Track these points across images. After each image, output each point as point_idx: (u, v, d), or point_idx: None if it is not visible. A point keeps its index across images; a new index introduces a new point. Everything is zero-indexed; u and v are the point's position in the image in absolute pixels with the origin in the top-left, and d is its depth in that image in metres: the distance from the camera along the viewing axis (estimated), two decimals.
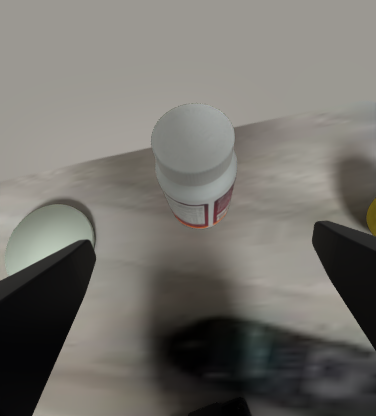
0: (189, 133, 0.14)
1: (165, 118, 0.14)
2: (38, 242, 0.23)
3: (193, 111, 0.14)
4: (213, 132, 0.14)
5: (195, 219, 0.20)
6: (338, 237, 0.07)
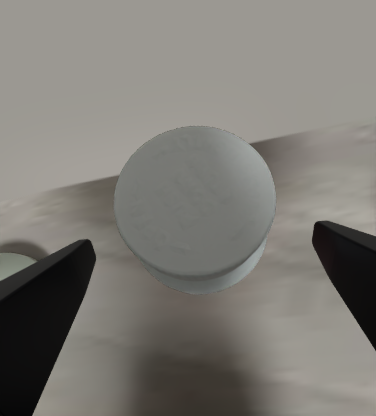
0: (188, 185, 0.07)
1: (142, 155, 0.08)
2: None
3: (194, 141, 0.08)
4: (233, 186, 0.07)
5: None
6: (338, 237, 0.07)
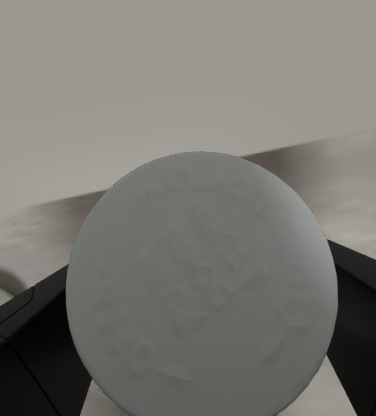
0: (187, 254, 0.04)
1: (115, 198, 0.05)
2: None
3: (197, 177, 0.05)
4: (262, 257, 0.04)
5: None
6: None
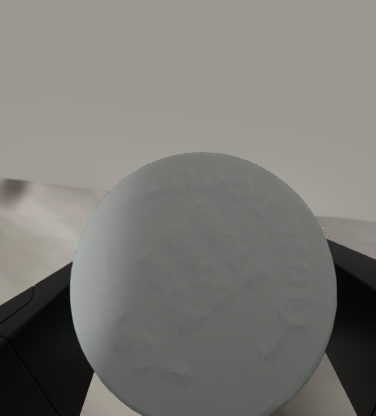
0: (189, 253, 0.04)
1: (118, 198, 0.05)
2: None
3: (199, 178, 0.05)
4: (262, 256, 0.04)
5: None
6: None
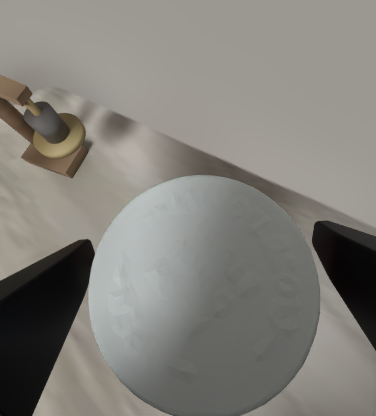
0: (192, 266, 0.05)
1: (129, 216, 0.06)
2: None
3: (201, 198, 0.06)
4: (256, 270, 0.05)
5: None
6: (338, 237, 0.07)
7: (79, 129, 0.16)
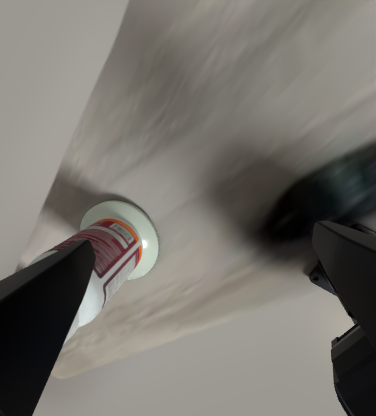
0: None
1: None
2: None
3: None
4: None
5: (127, 271, 0.20)
6: (338, 237, 0.07)
7: None
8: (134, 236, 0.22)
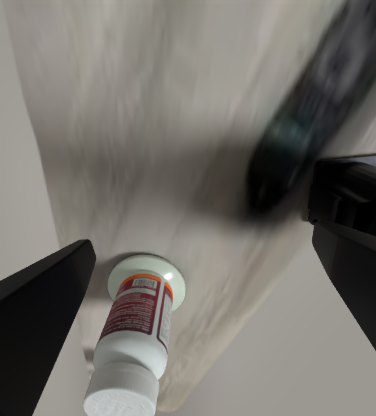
0: (117, 411, 0.16)
1: None
2: None
3: (97, 415, 0.16)
4: (106, 401, 0.15)
5: (168, 310, 0.22)
6: (338, 237, 0.07)
7: None
8: (156, 279, 0.24)
